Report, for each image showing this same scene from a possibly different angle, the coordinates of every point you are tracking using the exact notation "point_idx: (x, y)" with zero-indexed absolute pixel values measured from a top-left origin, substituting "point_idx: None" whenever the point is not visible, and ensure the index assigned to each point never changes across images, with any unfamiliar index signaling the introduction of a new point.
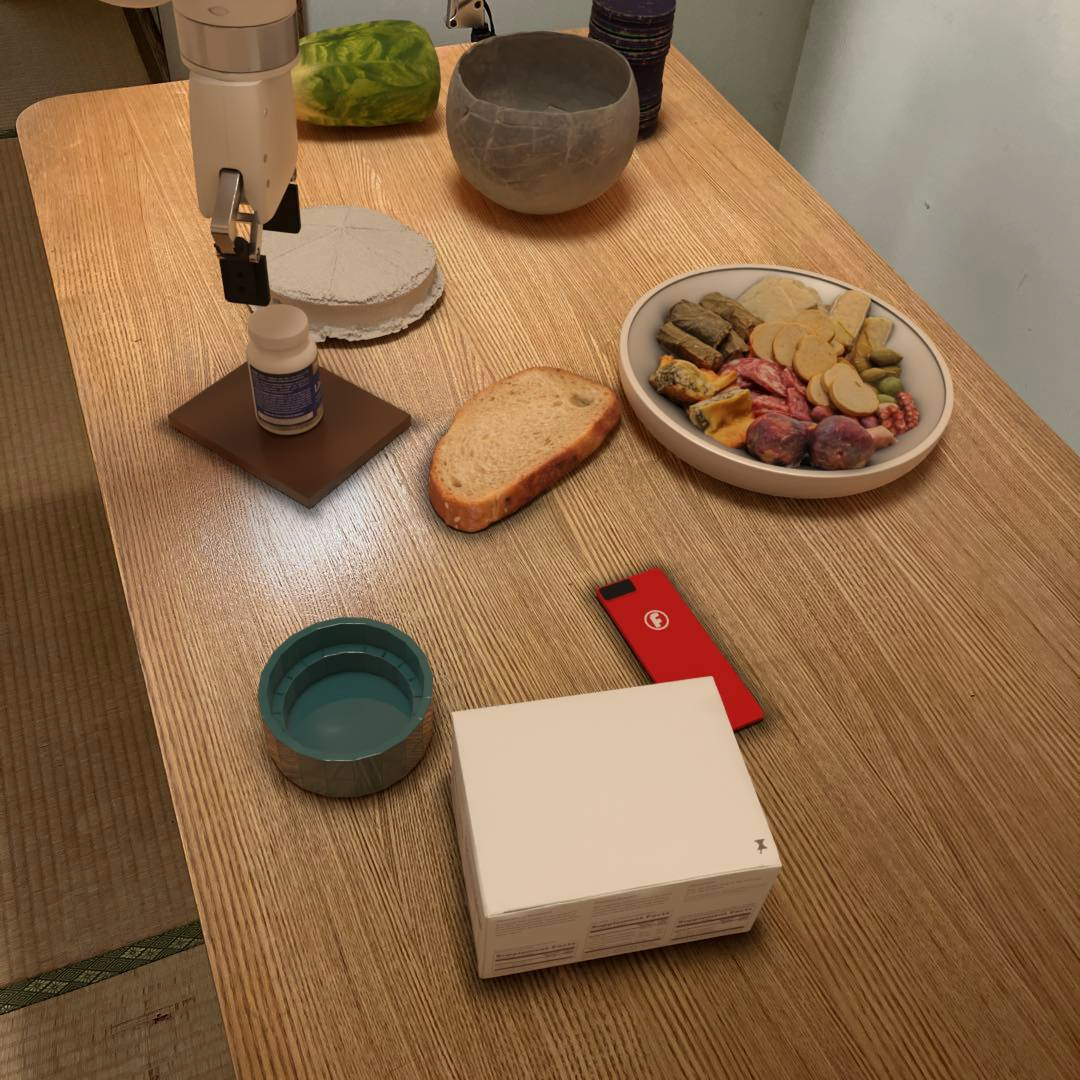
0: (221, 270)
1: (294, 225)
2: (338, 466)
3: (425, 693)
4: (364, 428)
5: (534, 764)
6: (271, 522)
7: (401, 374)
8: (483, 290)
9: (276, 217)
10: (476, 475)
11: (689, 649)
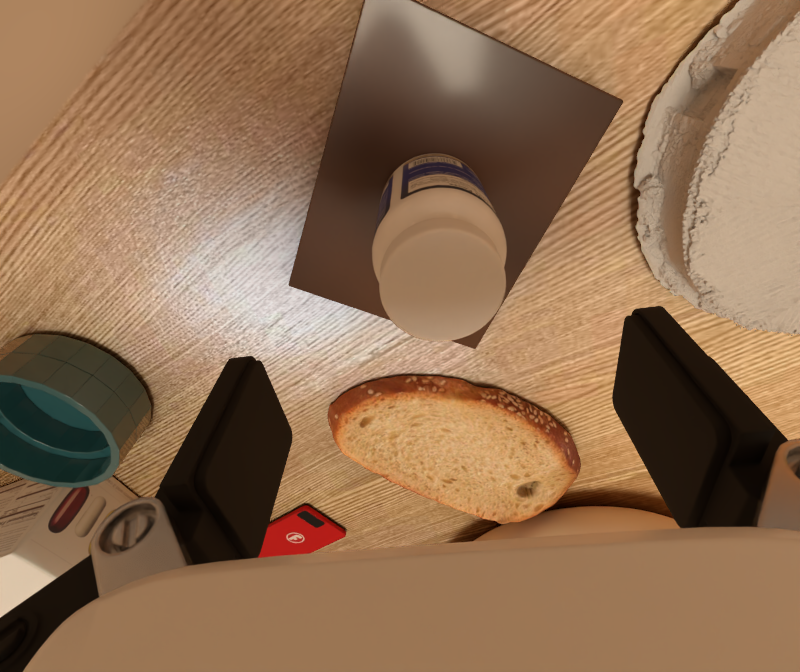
0: (190, 433)
1: (623, 417)
2: (355, 300)
3: (76, 484)
4: None
5: (17, 594)
6: (252, 241)
7: (573, 303)
8: (781, 352)
9: (640, 392)
10: (383, 434)
11: (279, 552)
